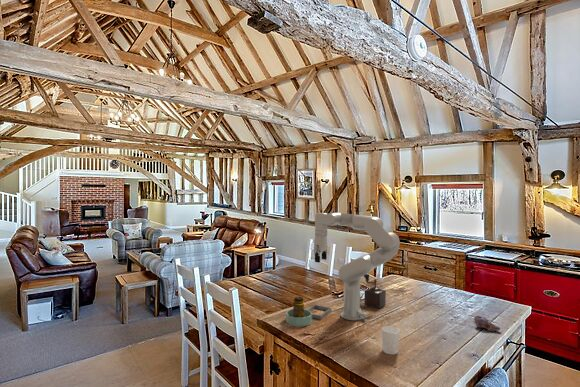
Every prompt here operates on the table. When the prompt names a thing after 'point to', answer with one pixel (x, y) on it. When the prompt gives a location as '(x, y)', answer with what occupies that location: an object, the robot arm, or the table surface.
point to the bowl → (299, 321)
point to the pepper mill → (374, 295)
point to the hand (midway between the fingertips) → (320, 260)
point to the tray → (321, 309)
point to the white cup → (390, 339)
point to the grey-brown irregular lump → (485, 323)
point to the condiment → (298, 307)
